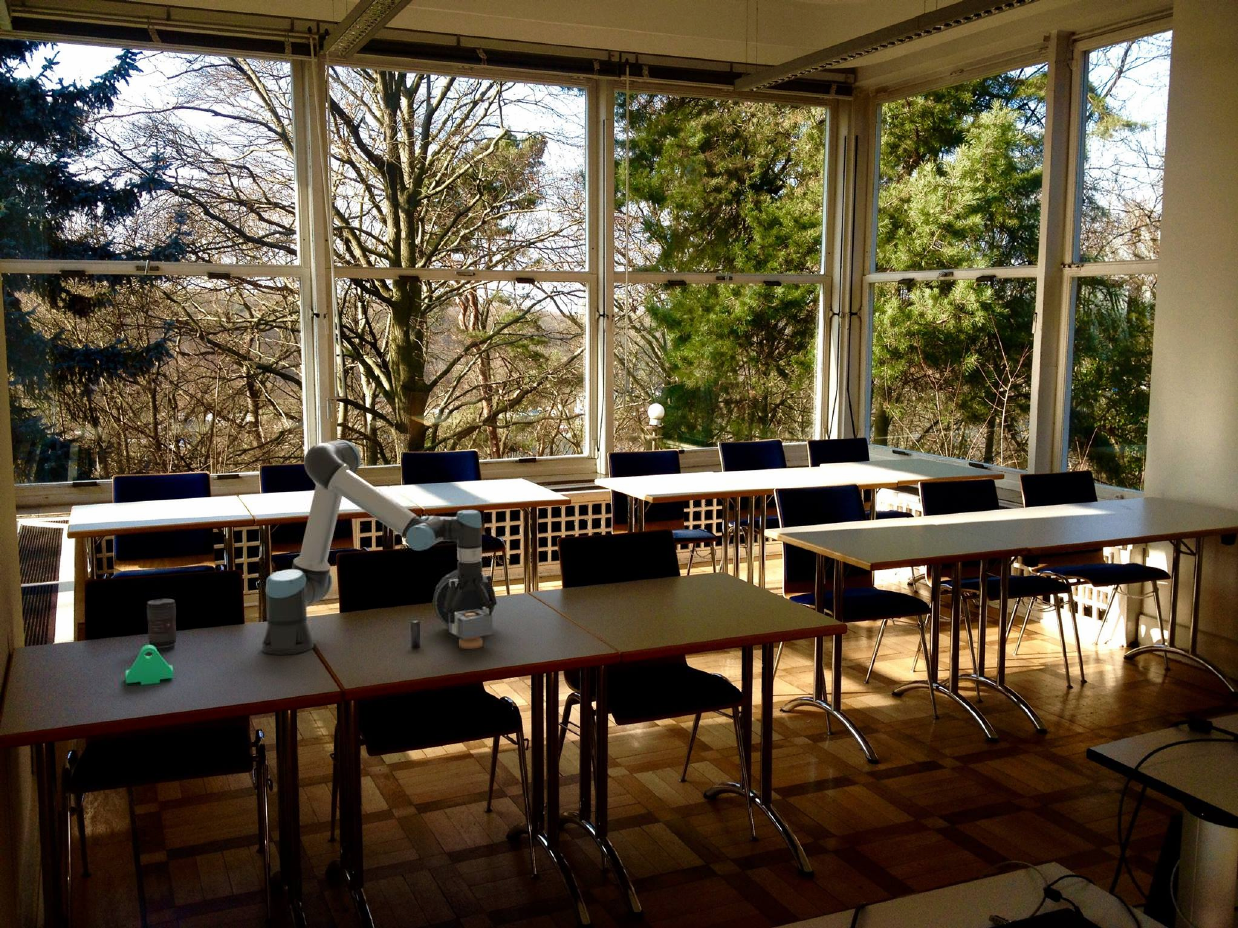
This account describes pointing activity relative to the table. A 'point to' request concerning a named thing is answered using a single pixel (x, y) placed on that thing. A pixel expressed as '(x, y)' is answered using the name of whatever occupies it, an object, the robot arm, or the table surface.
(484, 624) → the open grey box
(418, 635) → the stand rod
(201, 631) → the table surface
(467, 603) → the dark grey round disc
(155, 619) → the dark grey cylinder
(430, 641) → the table surface
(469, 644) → the hub
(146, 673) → the camera mount
